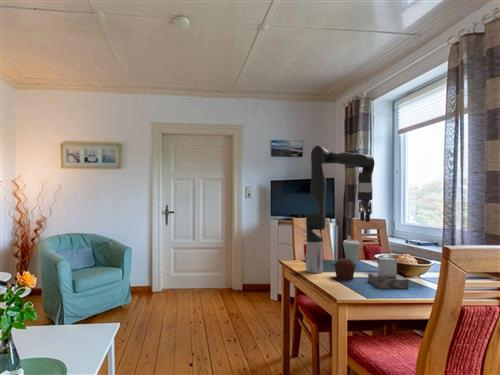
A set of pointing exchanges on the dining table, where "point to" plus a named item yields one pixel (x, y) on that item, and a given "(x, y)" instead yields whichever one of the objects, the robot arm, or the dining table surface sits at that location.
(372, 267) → the dining table surface
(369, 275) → the plinth
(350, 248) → the disposable coffee cup
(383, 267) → the medicine box
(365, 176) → the robot arm
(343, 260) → the muffin
